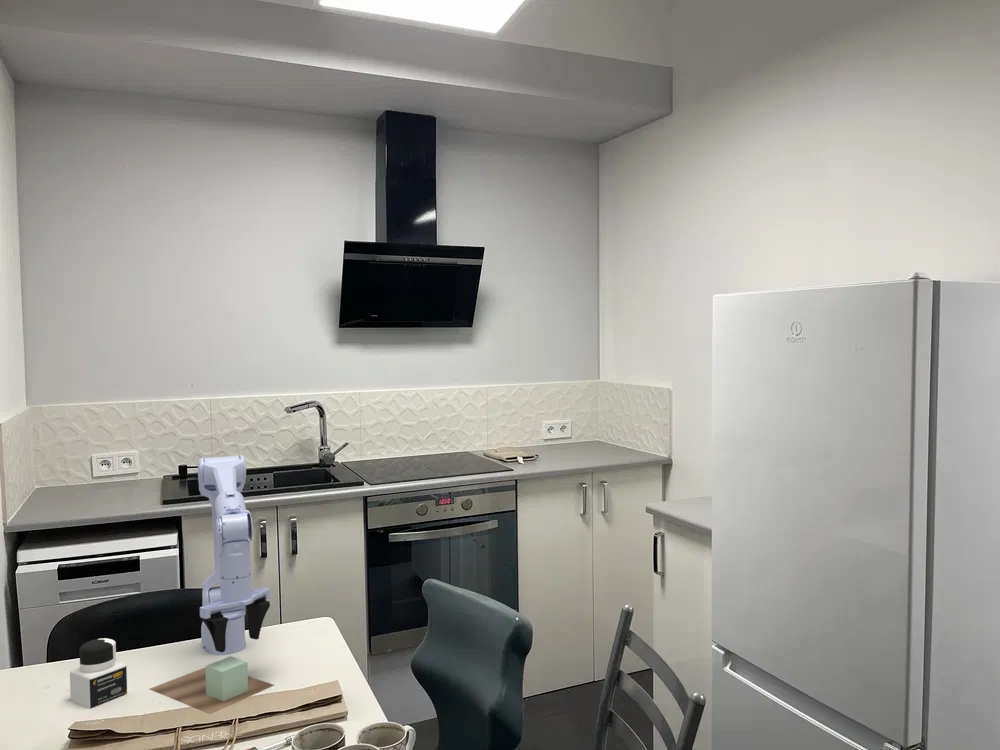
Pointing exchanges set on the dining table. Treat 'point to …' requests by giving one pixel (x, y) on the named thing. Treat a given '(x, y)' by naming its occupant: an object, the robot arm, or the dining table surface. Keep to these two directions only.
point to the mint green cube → (226, 678)
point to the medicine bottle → (98, 674)
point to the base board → (204, 691)
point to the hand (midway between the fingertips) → (237, 644)
